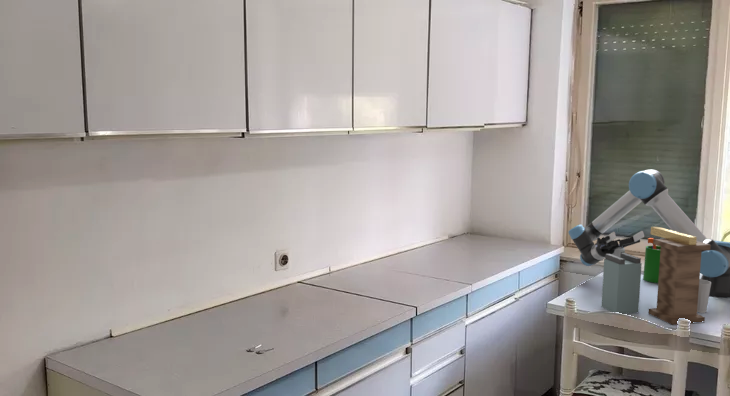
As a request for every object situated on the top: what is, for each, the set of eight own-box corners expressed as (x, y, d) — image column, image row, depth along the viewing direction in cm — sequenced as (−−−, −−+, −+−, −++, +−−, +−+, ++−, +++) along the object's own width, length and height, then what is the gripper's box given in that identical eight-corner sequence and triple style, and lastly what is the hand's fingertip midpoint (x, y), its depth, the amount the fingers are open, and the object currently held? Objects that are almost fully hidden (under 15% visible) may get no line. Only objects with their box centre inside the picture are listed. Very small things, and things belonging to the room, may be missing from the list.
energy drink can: (612, 273, 319) (614, 243, 316) (625, 275, 315) (626, 245, 313) (608, 275, 314) (609, 245, 312) (620, 277, 310) (622, 247, 308)
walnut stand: (648, 313, 256) (653, 239, 252) (678, 311, 259) (684, 237, 255) (672, 324, 242) (678, 246, 238) (704, 322, 245) (710, 244, 241)
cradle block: (601, 306, 264) (604, 254, 261) (623, 305, 267) (626, 252, 264) (616, 314, 255) (619, 259, 252) (638, 312, 257) (641, 258, 254)
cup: (682, 307, 264) (684, 279, 262) (701, 307, 264) (703, 278, 263) (694, 313, 256) (696, 284, 254) (713, 313, 257) (715, 283, 255)
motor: (666, 283, 300) (669, 241, 297) (645, 282, 302) (648, 240, 299) (660, 278, 310) (663, 237, 307) (641, 277, 312) (643, 236, 309)
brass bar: (650, 234, 262) (651, 226, 261) (657, 233, 262) (657, 226, 262) (689, 245, 240) (689, 237, 240) (696, 244, 241) (696, 237, 241)
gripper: (629, 256, 297) (656, 241, 278) (580, 258, 292) (604, 243, 273) (625, 240, 300) (652, 225, 281) (576, 242, 295) (600, 227, 276)
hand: (628, 234), depth 277 cm, fingers open, 13 cm apart
